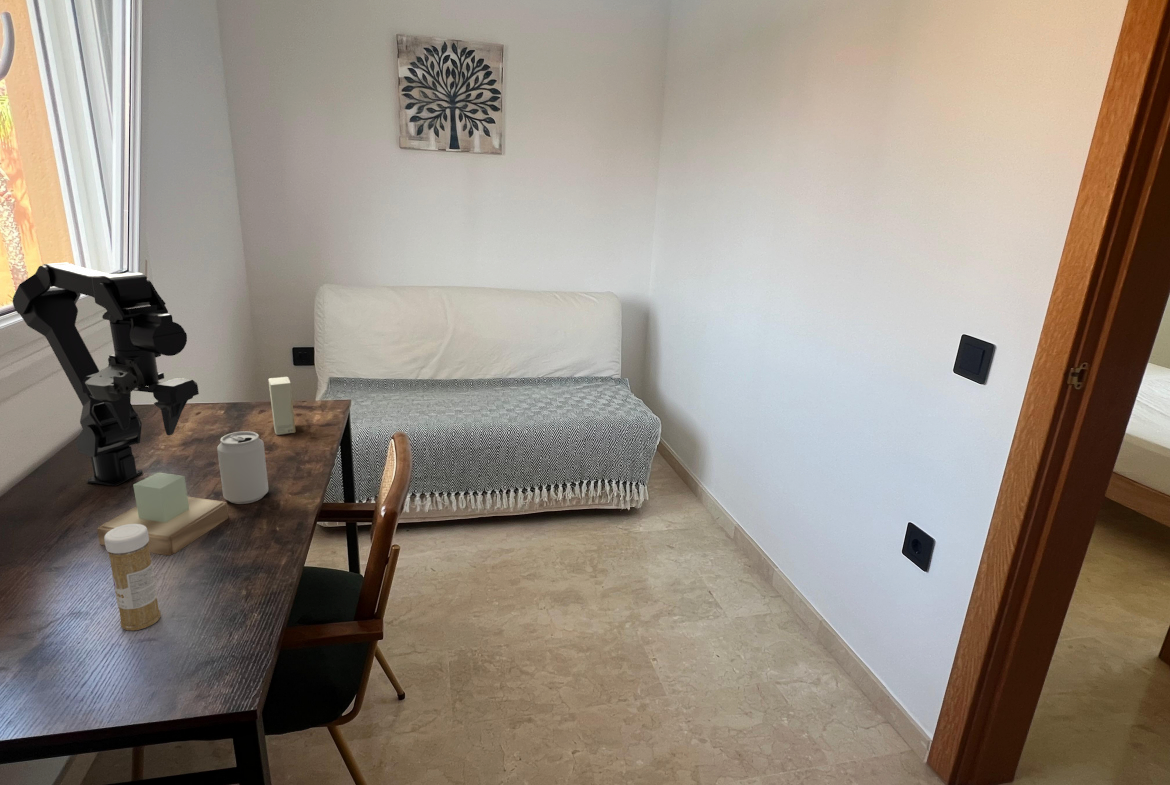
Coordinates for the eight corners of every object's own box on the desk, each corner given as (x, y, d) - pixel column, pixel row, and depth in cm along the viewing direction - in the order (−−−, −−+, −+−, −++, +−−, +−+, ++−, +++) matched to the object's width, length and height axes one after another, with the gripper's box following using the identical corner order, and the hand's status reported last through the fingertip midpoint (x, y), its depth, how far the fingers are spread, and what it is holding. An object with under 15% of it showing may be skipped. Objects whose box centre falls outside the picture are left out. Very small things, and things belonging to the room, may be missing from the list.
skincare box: (296, 433, 153) (291, 383, 149) (275, 435, 151) (269, 385, 147) (293, 424, 158) (288, 375, 155) (272, 426, 156) (267, 377, 153)
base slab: (98, 544, 105) (95, 527, 104) (164, 506, 117) (161, 491, 116) (171, 555, 102) (168, 538, 101) (230, 516, 115) (228, 501, 114)
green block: (138, 518, 107) (133, 484, 105) (163, 504, 112) (158, 472, 110) (165, 522, 106) (160, 488, 104) (189, 508, 111) (184, 476, 109)
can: (251, 508, 118) (243, 446, 114) (214, 503, 119) (205, 441, 116) (277, 490, 125) (271, 431, 121) (242, 485, 126) (235, 427, 123)
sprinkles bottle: (115, 621, 87) (98, 530, 83) (154, 606, 90) (139, 518, 86) (127, 637, 84) (110, 544, 80) (167, 621, 88) (152, 531, 84)
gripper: (43, 353, 108) (61, 441, 112) (142, 363, 105) (157, 454, 109) (103, 338, 118) (117, 420, 123) (195, 348, 115) (206, 431, 120)
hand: (147, 431), depth 118 cm, fingers open, 9 cm apart
